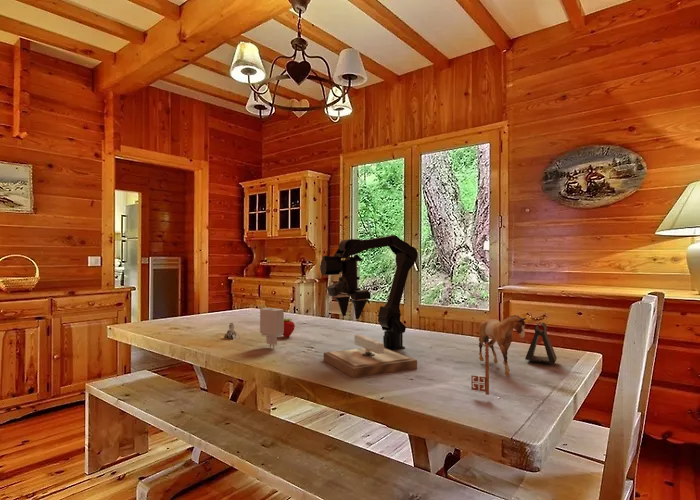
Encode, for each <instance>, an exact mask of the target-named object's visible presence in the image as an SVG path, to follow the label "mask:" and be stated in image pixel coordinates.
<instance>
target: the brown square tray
mask: <svg viewBox="0 0 700 500" xmlns="http://www.w3.org/2000/svg"><path fill="white" fill-rule="evenodd" d="M323 361H324V362H325V363H327V364H329V365H331V366H332V367H333V368H336V369H338V370H340V371H341V372H343V373H344V374H346V375H348V376H350V377H351V378H352V379H353V378H359V377H360V378H361V377H366V376H373V375H374V376H375V375H380V374H381V375H382V374H387V373H393V372H394V373H395V372H401V371H406V370H415V369H418V360H417V359H415V358H413V357H410V356H407V355H405V354H402V353H400V352H397V351H394V350H389V349H387V348H384V353H383V354H377V353H375V352H372V354H365V348H363V347H360V348H354V349H344V350H335V351H329V352H326V351H325V352H323Z"/></svg>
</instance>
